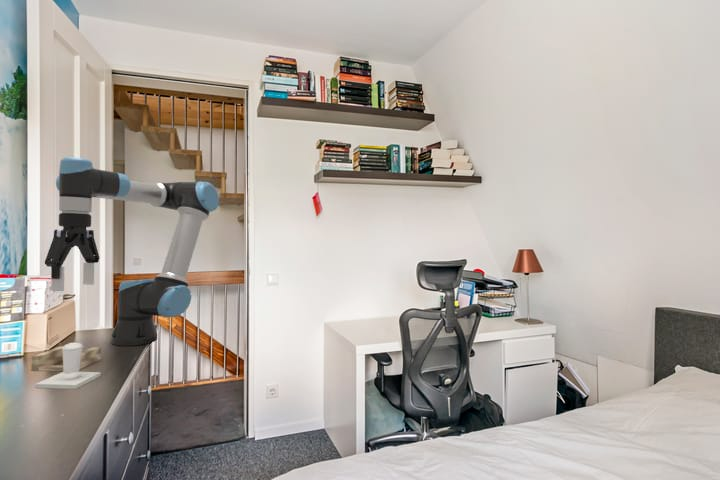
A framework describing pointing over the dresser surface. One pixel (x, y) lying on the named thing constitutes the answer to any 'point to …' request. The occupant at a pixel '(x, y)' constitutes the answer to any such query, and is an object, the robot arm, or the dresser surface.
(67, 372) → the milkshake
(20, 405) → the dresser surface
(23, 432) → the dresser surface
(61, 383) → the pad
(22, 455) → the dresser surface
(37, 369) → the pocket holder
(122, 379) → the dresser surface
